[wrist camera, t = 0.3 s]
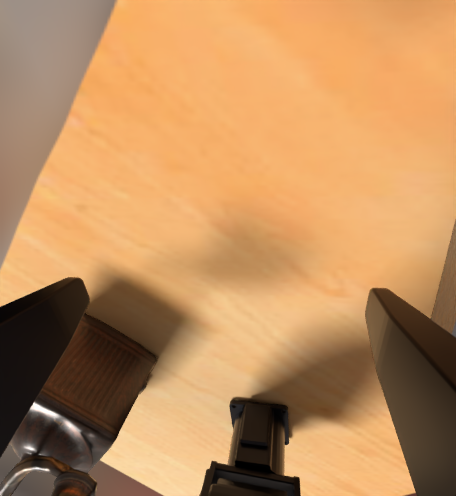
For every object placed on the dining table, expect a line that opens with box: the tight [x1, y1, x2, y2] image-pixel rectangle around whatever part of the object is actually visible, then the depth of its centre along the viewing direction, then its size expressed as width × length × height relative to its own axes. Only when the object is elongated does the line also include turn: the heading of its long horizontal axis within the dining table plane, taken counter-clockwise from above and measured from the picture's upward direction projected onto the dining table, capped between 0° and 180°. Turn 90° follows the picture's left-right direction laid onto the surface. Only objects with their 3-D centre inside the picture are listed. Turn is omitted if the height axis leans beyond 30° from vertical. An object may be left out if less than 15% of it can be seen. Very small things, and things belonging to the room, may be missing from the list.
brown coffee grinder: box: [0, 313, 157, 496], centre depth 25 cm, size 16×11×18 cm
